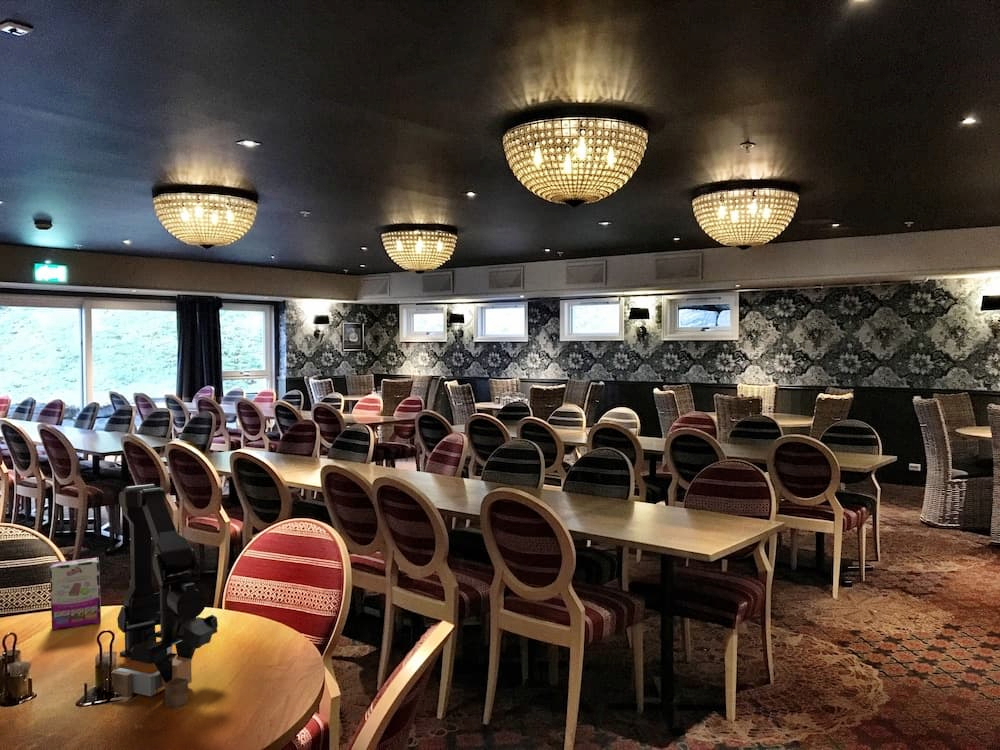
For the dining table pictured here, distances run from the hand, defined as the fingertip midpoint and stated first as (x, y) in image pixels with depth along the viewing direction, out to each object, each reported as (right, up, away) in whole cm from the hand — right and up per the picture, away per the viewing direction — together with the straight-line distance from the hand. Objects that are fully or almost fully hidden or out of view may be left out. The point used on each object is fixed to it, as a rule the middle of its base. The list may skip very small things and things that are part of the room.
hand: (176, 679), depth 162 cm
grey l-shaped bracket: (-7, -2, +1) cm, 7 cm away
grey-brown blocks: (-5, -2, -3) cm, 7 cm away
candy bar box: (-42, -1, +38) cm, 56 cm away
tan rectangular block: (0, -1, 0) cm, 1 cm away
